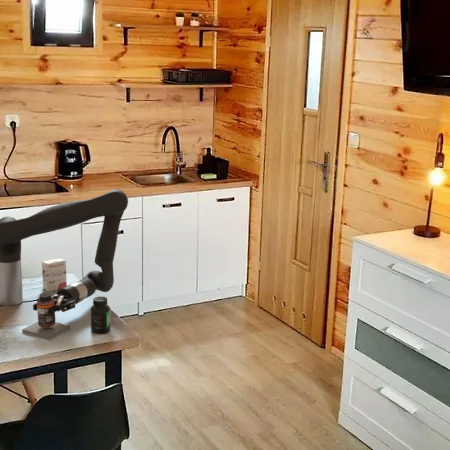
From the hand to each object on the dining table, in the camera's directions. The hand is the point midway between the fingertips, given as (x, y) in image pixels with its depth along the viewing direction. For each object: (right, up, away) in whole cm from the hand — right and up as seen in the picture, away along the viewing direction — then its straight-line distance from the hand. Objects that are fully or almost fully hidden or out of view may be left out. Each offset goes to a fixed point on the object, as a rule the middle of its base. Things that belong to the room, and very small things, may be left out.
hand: (41, 309), depth 244 cm
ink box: (-6, +3, +46) cm, 46 cm away
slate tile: (+1, -8, +4) cm, 9 cm away
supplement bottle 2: (+20, -8, +6) cm, 22 cm away
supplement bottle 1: (+1, -6, +4) cm, 7 cm away
